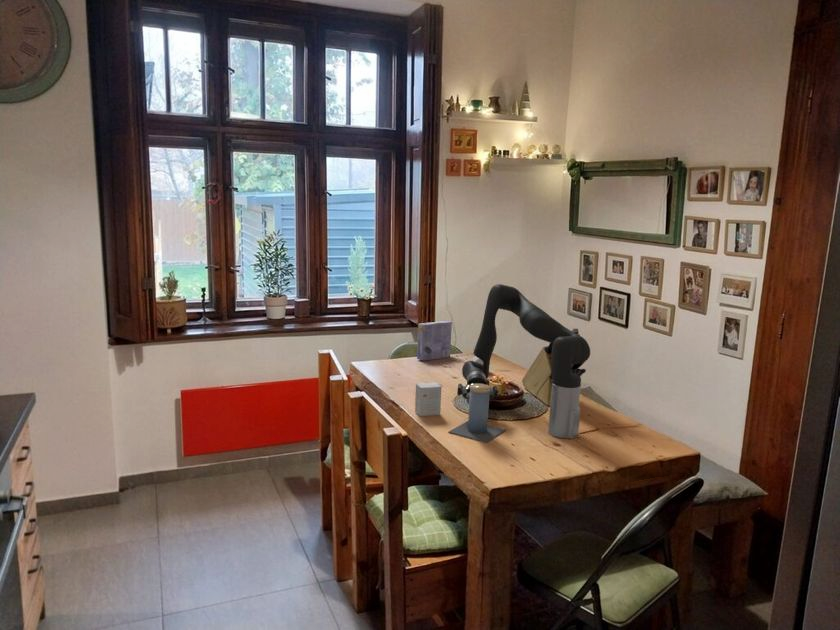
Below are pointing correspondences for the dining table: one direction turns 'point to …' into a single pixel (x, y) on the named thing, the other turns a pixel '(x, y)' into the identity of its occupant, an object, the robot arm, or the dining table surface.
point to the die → (477, 360)
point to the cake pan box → (434, 340)
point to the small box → (428, 399)
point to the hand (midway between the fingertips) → (478, 396)
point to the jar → (478, 408)
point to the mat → (485, 437)
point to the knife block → (545, 374)
